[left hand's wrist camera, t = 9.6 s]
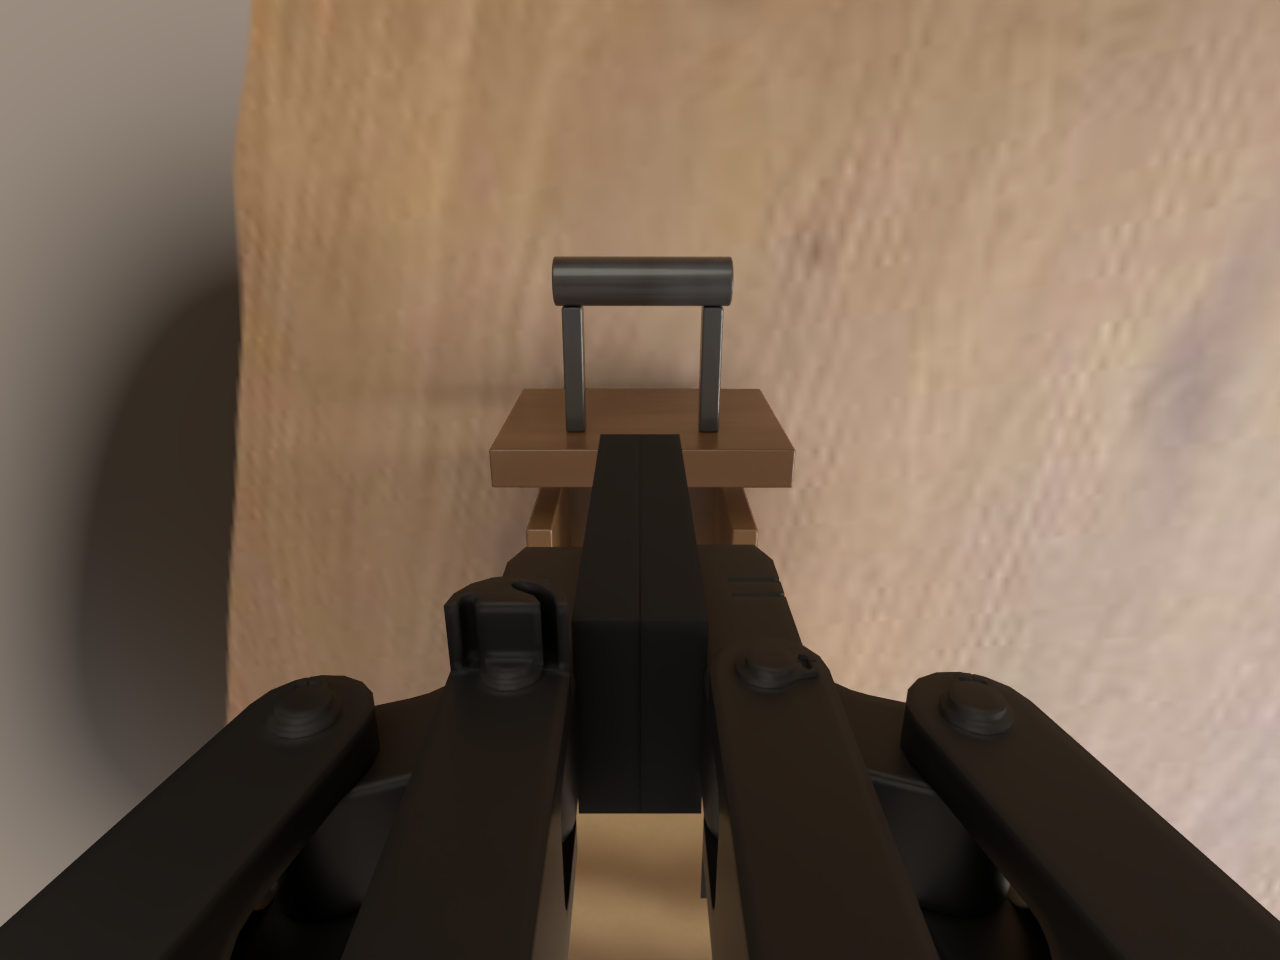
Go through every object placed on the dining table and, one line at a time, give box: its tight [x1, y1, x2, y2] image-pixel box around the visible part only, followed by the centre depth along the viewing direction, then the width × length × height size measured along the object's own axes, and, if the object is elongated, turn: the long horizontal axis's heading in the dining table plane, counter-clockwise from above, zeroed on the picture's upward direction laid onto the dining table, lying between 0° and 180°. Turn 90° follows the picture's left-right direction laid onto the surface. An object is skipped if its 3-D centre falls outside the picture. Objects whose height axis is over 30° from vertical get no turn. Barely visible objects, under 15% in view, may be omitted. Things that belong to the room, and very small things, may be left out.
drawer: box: [489, 257, 795, 547], centre depth 28 cm, size 25×9×7 cm, turn 0°
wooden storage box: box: [568, 801, 712, 960], centre depth 32 cm, size 21×10×9 cm, turn 0°
